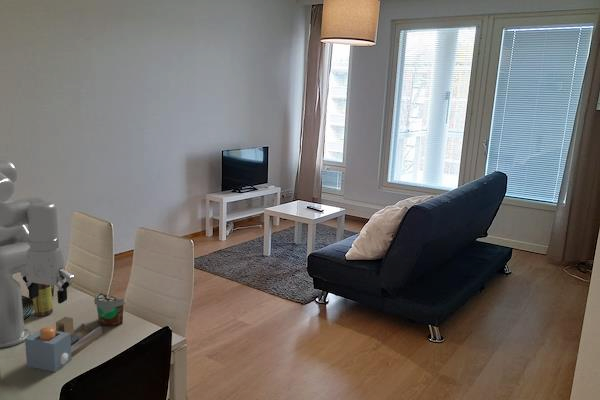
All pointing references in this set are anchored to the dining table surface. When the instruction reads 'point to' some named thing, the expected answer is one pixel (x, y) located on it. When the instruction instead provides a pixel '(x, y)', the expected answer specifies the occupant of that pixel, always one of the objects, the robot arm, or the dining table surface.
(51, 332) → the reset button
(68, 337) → the blue-grey box
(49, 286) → the sauce bottle
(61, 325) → the carriage
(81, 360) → the dining table surface
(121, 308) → the food container
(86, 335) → the rail
